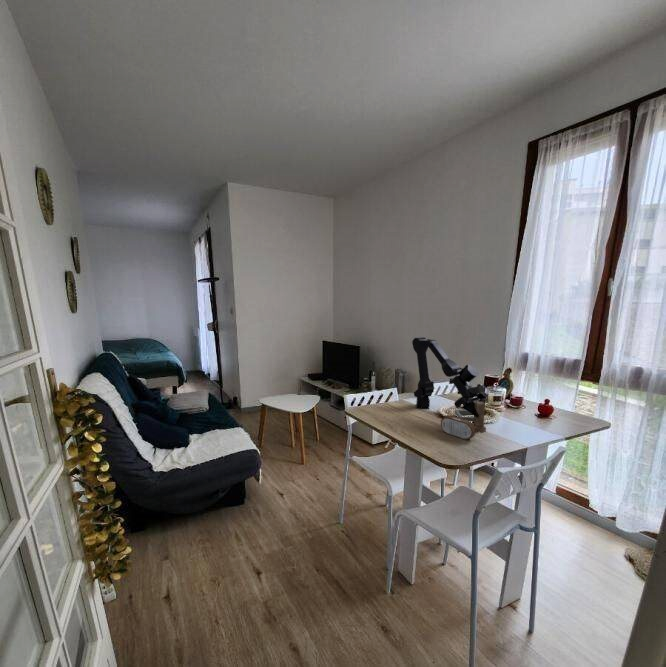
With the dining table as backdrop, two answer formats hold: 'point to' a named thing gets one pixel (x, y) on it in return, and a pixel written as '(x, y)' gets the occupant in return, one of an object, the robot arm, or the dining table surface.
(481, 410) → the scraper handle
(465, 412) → the box
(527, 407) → the dining table surface
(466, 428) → the tin
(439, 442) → the dining table surface
